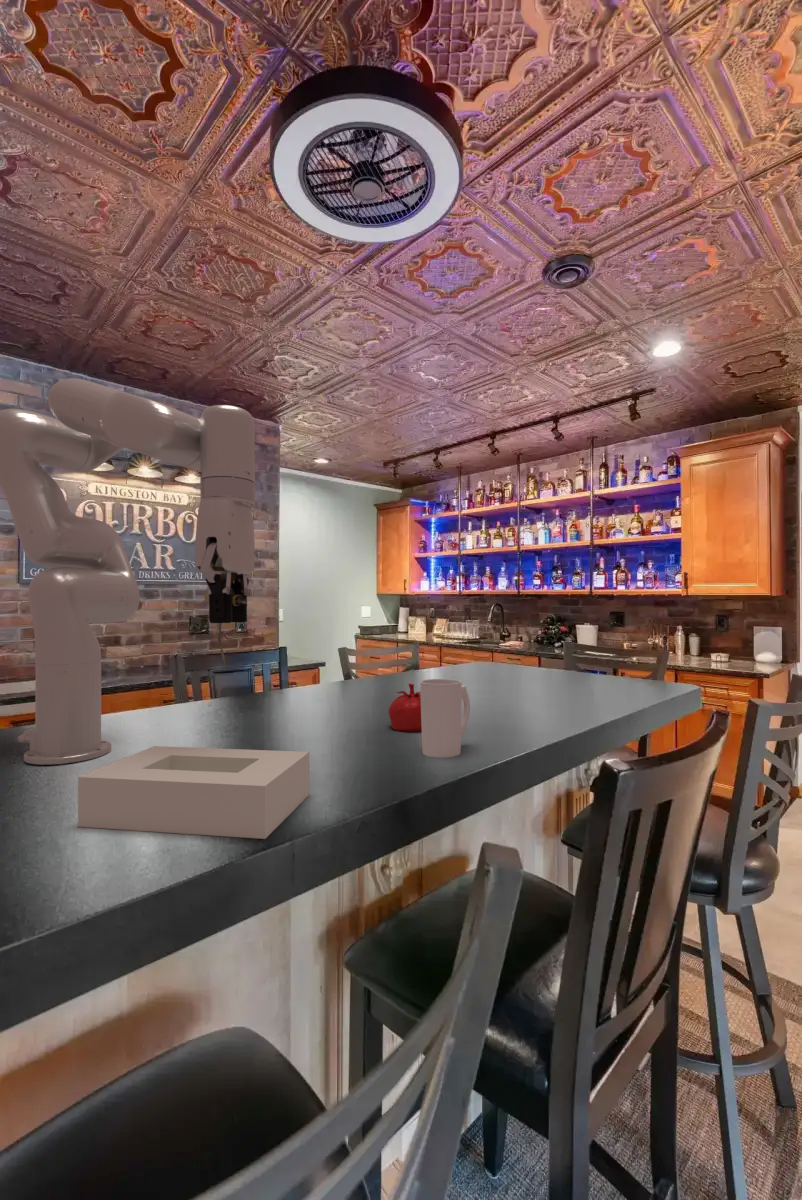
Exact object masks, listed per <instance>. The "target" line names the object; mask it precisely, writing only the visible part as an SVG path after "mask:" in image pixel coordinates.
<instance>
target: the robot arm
mask: <svg viewBox="0 0 802 1200" xmlns="http://www.w3.org/2000/svg"><path fill="white" fill-rule="evenodd" d="M47 403H48V408H49V410H50V412H51V414H53V416H54V417H52V416H49V415H46V414H42V413H39V412H36V411H32V410H28V409H21V408H4V409H1V410H0V489H1V491H2V493H3V494H4V496H5V498H6V499H5V500H6V501H7V503H8V507H9V509H10V515H11V517H12V520H13V523H14V526H15V529H16V533H17V535H18V538H19V540H20V544H21V547H22V549H23V551H24V554H25V556H26V558H27V559H28V560H29V562H31V563H33V564H35V565H38V566H40V567H45V568H46V569H44V570H42V571H40V572H38V573H37V574H35V576H34V577H33V578H32V579H31V581H30V583H29V585H28V589H27V598H28V599H27V600H28V605H29V610H30V614H31V618H32V625H33V631H34V653H35V654H34V657H35V658H34V659H35V660H34V661H35V662H34V664H35V682H34V683H35V686H34V687H35V694H34V695H35V704H34V705H35V707H34V708H35V713H34V714H35V716H34V717H35V718H34V719H35V720H34V721H35V725H34V729H33V728H32V729H29V728H28V729H25V730H24V731H23V733H22V734H19V736H17V741H18V743H23V744H28V743H29V749H28V750H27V751H25V752H24V754H23V761H24V763H27V764H31V765H38V766H39V765H40V766H45V765H46V766H47V765H48V766H51V765H53V766H54V765H63V764H73V763H80V762H84V761H89V760H93V759H96V758H99V757H103V756H105V755H107V754H108V753H110V752H111V751H112V743H111V742H109V741H108V740H107V741H106V740H104V739H102V651H101V646H100V643H99V640H98V637H97V636H96V634H95V633H94V631H93V630H92V628H91V626H90V624H104V623H105V624H106V623H109V624H110V623H120V622H125V621H127V620H129V619H131V618H132V617H133V616H134V615H135V614H136V613H137V610H138V608H139V605H140V591H139V590H140V589H139V585H138V582H137V579H136V575H135V574H134V571H133V568H132V565H131V562H130V560H129V557H128V555H127V552H126V549H125V547H124V544H123V542H122V539H121V537H120V535H119V533H118V531H116V529H114V528H113V527H112V525H110V524H108V523H107V522H105V521H102V520H99V519H95V518H88V517H83V516H78V515H76V514H74V513H73V512H71V510H70V508H69V505H68V503H67V501H66V497H65V495H64V491H62V488H61V486H59V484H58V483H57V482H56V481H55V479H54V478H53V477H52V476H51V475H50V474H49V473H48V472H47V471H46V470H45V469H43V467H42V466H41V465H45V466H49V467H53V468H57V469H61V470H62V469H63V470H66V471H70V472H74V473H75V472H76V473H89V472H91V471H94V470H96V469H98V467H101V465H103V464H104V463H106V462H107V461H108V460H110V459H112V458H113V457H114V456H115V455H117V454H118V453H119V452H121V451H122V450H124V449H128V450H130V451H133V452H136V453H137V454H138V453H139V454H141V455H144V456H148V457H149V458H153V459H157V460H161V461H165V462H167V463H171V464H173V465H176V466H180V467H183V468H186V469H190V470H194V471H196V472H197V471H198V472H199V475H200V476H199V479H200V481H199V483H200V487H199V488H200V491H199V492H200V493H199V495H200V497H199V498H200V499H199V501H200V502H199V504H198V505H199V507H198V511H197V519H196V531H195V543H194V544H195V546H194V547H195V549H194V567H195V568H196V569H197V571H199V572H200V573H201V574H202V575H203V577H204V579H205V581H206V583H207V588H206V590H207V592H208V594H212V595H209V604H208V617H209V618H208V621H209V623H211V624H217V623H222V624H231V623H246V622H248V605H247V606H246V605H242V604H241V605H239V606H234V605H233V603H232V594H229V592H230V581H231V572H234V573H238V575H237V581H234V582H232V584H231V588H232V589H234V594H235V595H236V594H240V595H241V596H242V597H243V598H247V600H246V602H247V603H248V595H249V587H248V586H249V583H250V581H251V579H252V578H253V571H254V570H255V559H256V555H255V552H256V551H255V549H256V548H255V530H254V519H253V512H252V511H253V510H252V509H254V508H255V507H256V477H255V476H256V471H255V470H256V465H255V464H256V460H255V459H256V458H255V457H256V456H255V455H256V452H255V450H256V449H255V447H256V446H255V445H256V443H255V442H256V441H255V440H256V437H255V436H256V435H255V431H256V430H255V427H256V426H255V420H254V417H253V415H252V414H251V413H250V412H249V411H247V410H246V409H244V408H241V407H239V406H236V405H229V404H214V405H211V406H208V407H206V408H204V409H203V411H202V413H200V414H201V415H200V418H198V417H196V416H193V415H191V414H188V413H186V412H184V411H181V410H179V409H176V408H173V407H171V406H169V405H166V404H163V403H162V402H158V401H156V400H153V399H149V398H145V397H143V396H138V395H135V394H132V393H129V392H126V391H122V390H120V389H115V388H113V387H109V386H106V385H102V384H99V383H95V382H93V381H89V380H86V379H81V378H77V377H76V378H75V377H74V378H73V377H72V378H71V377H70V378H64V379H60V380H59V381H57V382H56V383H54V384H53V385H52V386H51V388H50V389H49V391H48V395H47ZM216 568H224V569H225V571H216ZM221 577H223V580H222V578H221Z"/></svg>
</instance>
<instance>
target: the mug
mask: <svg viewBox="0 0 802 1200" xmlns="http://www.w3.org/2000/svg"><path fill="white" fill-rule="evenodd" d="M419 682H420V691H419V692H420V694H421V727H422V732H421V748H422V749H421V751H422V754H423V755H424V756H427V757H430V758H439V759H440V758H442V759H444V758H452V757H456V756H459V755H460V754H461V753H462V752H461V751H462V734H465V733H466V732H467V728H468V724H469V720H470V719H469V718H470V713H471V703H470V702H471V701H470V697H469V694H468V691H467V685H466V684H462V681H461V680H459V679H454V678H429V679H424V680H423V679H422V680H420V681H419ZM462 701H463V713H462Z"/></svg>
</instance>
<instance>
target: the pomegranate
mask: <svg viewBox="0 0 802 1200" xmlns="http://www.w3.org/2000/svg"><path fill="white" fill-rule="evenodd" d="M408 687H409V694H408V693H407V692H406V691H404V690H400V691H396V693H397V694H402V695H398V696H397V697H396V698H395V699H394V700H393V701H392V702H391V704H390V705H389V707H388V711H387V712H388V718H389V720H390V724H391V727H392V729H393V730H394V731H397V732H403V733H404V732H405V733H406V732H407V733H413V732H414V733H418V732H419V733H420V732H421V733H422V727H421V693H420V691H418V692H417V691H416V692H415V688H414V687H415V685H414V683H408Z"/></svg>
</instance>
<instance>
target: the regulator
mask: <svg viewBox="0 0 802 1200" xmlns="http://www.w3.org/2000/svg"><path fill="white" fill-rule="evenodd" d="M216 571H225V569H224V568H216ZM238 574H239V573H234V572H231V581H230V592H229V594H232V603H233V605H234V606H239V605H241V604H242V605H246V606H247V607H248V597H247V598H243V597H242V596H241V595H240V594H236V595H235V594H234V589H232V588H231V584H232V582H233V583H234V582H235V581H237V575H238ZM221 578H222V580H223V577H221ZM209 595H212V594H208V592H207V589H206V590H205V591H204V596H203V597H204V600H205V601H206V602H207V604H208V605H209ZM246 600H247V602H246ZM222 624H223V623H216V633H217V636H218V637H217V639H218V640H217V643H218V646H219V649H220V655H221V660H222V662H223V664H224V665H225V666H227V663H228V661H227V659H226V655H225V654H224V649H223V646H222V639H221V633H222Z"/></svg>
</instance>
